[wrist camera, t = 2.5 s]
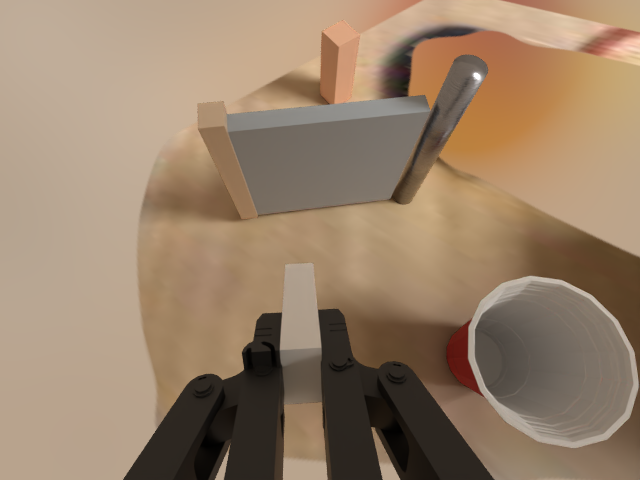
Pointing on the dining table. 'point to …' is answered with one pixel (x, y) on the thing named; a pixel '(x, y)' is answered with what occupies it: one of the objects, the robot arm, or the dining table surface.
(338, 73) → the post
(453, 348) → the plastic cup
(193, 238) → the dining table surface
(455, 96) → the gate post
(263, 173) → the panel
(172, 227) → the dining table surface
